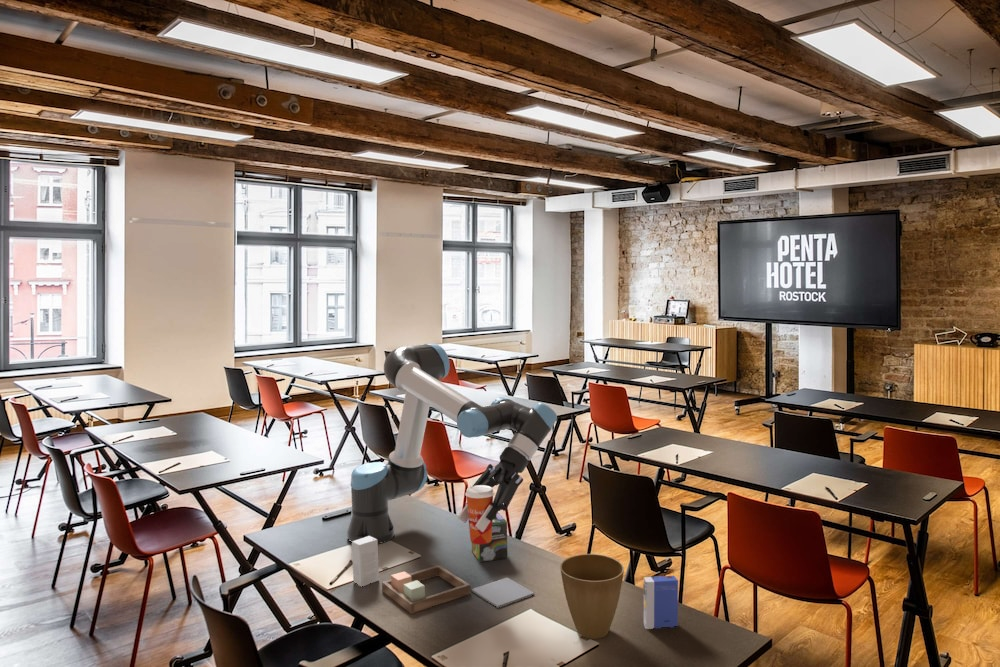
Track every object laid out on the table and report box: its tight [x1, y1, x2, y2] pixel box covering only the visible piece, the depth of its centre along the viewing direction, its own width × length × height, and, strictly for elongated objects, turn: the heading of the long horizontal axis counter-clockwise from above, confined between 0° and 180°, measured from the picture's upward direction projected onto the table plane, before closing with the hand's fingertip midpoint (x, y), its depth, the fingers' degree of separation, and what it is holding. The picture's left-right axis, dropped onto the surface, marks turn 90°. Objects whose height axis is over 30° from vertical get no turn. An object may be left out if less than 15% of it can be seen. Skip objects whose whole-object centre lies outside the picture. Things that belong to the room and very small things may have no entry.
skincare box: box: [351, 536, 380, 588], centre depth 193 cm, size 6×4×12 cm
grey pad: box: [470, 577, 535, 609], centre depth 185 cm, size 12×12×1 cm
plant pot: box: [559, 553, 625, 640], centre depth 164 cm, size 15×15×16 cm
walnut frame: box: [381, 564, 471, 615], centre depth 186 cm, size 16×18×2 cm
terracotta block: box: [390, 570, 412, 595], centre depth 186 cm, size 4×4×5 cm
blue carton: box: [642, 574, 679, 630], centre depth 167 cm, size 8×3×12 cm, turn 96°
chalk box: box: [471, 511, 509, 563], centre depth 210 cm, size 9×9×15 cm
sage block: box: [404, 580, 426, 602], centre depth 180 cm, size 4×4×5 cm
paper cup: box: [465, 485, 495, 544], centre depth 183 cm, size 8×8×14 cm
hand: (470, 524), depth 181 cm, fingers closed on paper cup, 8 cm apart
